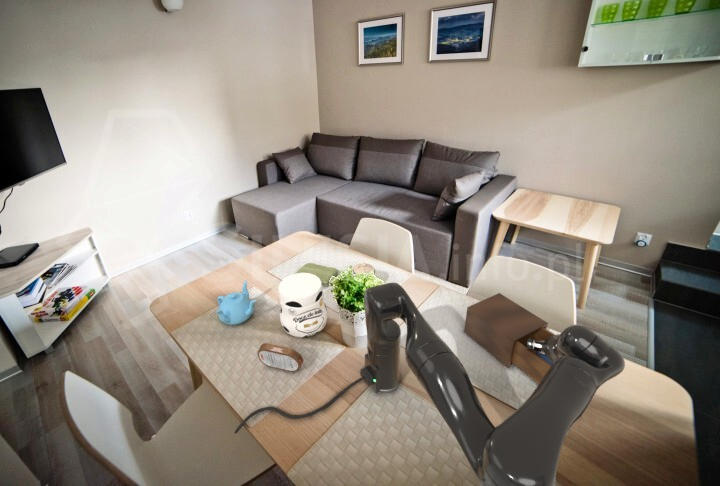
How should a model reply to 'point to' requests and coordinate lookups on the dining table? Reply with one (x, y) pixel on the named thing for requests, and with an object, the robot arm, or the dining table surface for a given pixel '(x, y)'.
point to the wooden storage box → (500, 326)
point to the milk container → (302, 305)
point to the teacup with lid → (363, 268)
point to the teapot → (235, 307)
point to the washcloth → (319, 272)
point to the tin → (280, 357)
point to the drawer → (531, 356)
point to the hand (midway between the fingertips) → (548, 349)
